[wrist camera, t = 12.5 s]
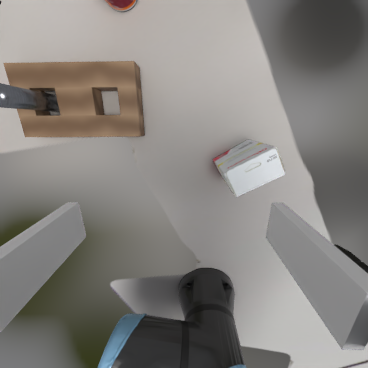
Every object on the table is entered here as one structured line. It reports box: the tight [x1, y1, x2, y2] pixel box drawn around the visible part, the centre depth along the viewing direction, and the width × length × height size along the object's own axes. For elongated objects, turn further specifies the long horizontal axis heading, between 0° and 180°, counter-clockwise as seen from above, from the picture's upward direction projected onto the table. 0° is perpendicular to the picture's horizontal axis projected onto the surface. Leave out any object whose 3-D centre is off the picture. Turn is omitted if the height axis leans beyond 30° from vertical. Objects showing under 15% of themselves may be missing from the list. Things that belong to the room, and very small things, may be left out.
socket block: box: [4, 61, 145, 137], centre depth 33 cm, size 12×22×4 cm, turn 90°
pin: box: [0, 83, 60, 112], centre depth 29 cm, size 3×3×12 cm
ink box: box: [213, 139, 286, 198], centre depth 32 cm, size 9×5×12 cm, turn 119°
